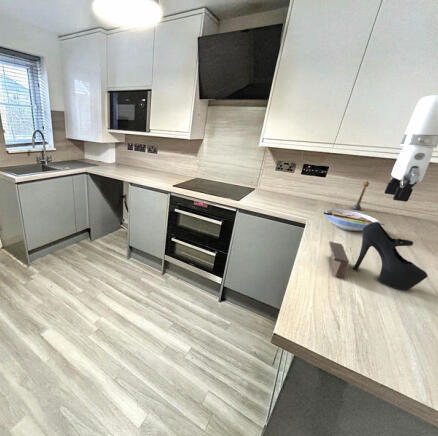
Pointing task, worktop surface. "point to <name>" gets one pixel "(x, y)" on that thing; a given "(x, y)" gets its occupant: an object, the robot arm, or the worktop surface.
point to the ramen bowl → (349, 219)
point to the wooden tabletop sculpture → (357, 206)
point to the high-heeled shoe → (390, 258)
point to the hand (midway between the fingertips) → (394, 197)
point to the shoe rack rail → (338, 259)
